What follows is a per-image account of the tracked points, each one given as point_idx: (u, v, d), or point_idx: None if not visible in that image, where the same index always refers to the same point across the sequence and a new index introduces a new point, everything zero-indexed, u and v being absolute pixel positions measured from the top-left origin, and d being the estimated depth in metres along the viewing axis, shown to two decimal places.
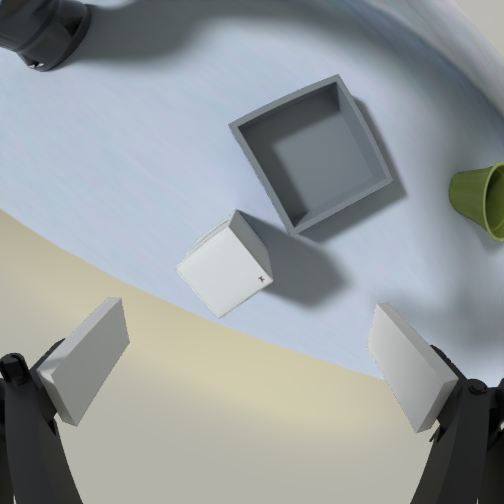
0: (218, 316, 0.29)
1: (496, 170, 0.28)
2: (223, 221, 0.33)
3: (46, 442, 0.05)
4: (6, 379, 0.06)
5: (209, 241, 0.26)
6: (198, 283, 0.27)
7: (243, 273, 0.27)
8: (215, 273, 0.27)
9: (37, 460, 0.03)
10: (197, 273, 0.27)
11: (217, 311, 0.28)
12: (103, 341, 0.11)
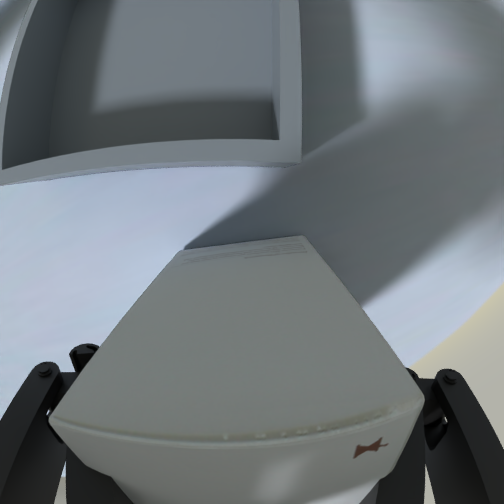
0: None
1: None
2: None
3: None
4: (77, 369, 0.07)
5: None
6: None
7: (283, 488, 0.04)
8: None
9: None
10: None
11: None
12: None
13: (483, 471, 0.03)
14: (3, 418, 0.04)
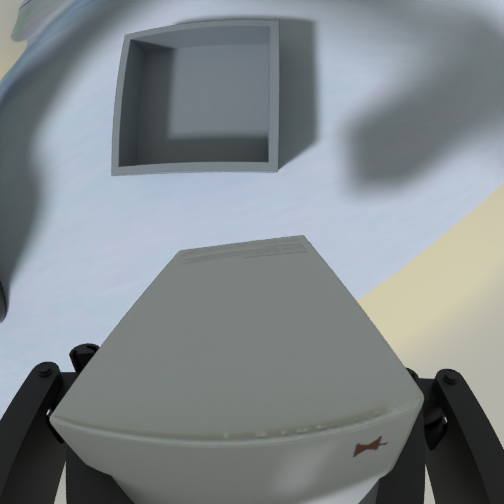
0: None
1: None
2: None
3: None
4: (77, 369, 0.07)
5: None
6: None
7: (283, 487, 0.04)
8: None
9: None
10: None
11: None
12: None
13: (483, 471, 0.03)
14: (3, 418, 0.04)
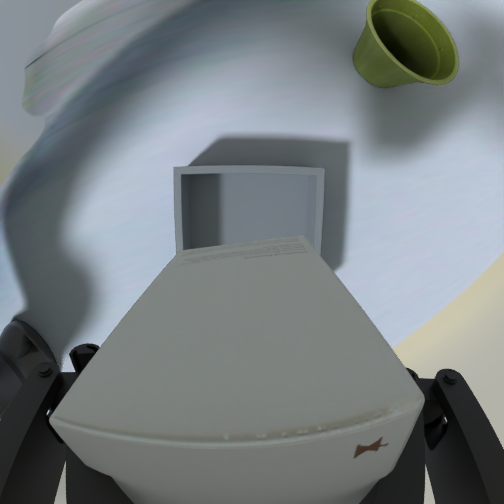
0: None
1: (373, 16, 0.19)
2: None
3: None
4: (77, 369, 0.07)
5: None
6: None
7: (284, 488, 0.04)
8: None
9: None
10: None
11: None
12: None
13: (483, 471, 0.03)
14: (3, 418, 0.04)
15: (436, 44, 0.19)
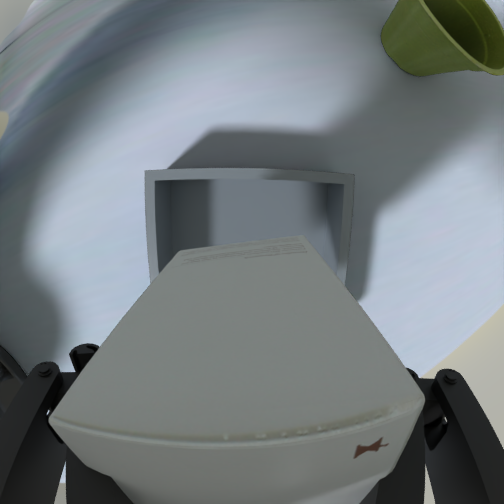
0: None
1: None
2: None
3: None
4: (77, 369, 0.07)
5: None
6: None
7: (283, 488, 0.04)
8: None
9: None
10: None
11: None
12: None
13: (483, 471, 0.03)
14: (3, 418, 0.04)
15: (482, 28, 0.11)
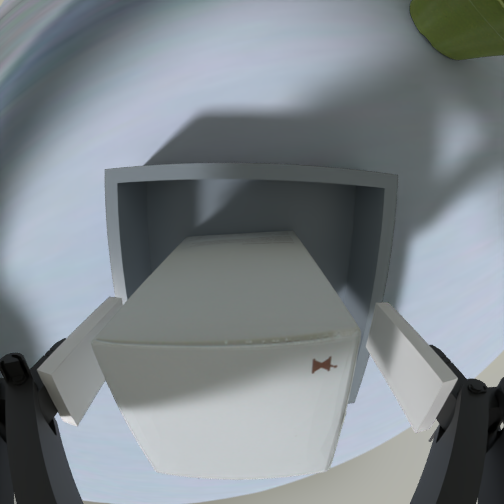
0: (322, 471, 0.08)
1: None
2: None
3: (46, 442, 0.05)
4: (6, 379, 0.06)
5: (116, 401, 0.07)
6: (214, 470, 0.08)
7: (262, 399, 0.07)
8: (211, 443, 0.07)
9: (38, 460, 0.03)
10: (186, 460, 0.08)
11: (309, 470, 0.08)
12: None
13: None
14: None
15: None
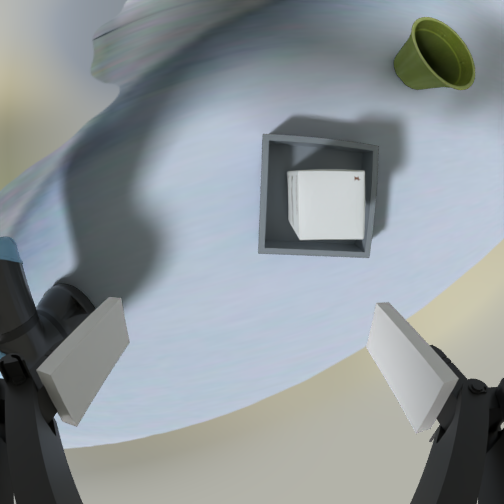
0: (361, 237, 0.28)
1: None
2: (290, 182, 0.34)
3: (46, 442, 0.05)
4: (6, 379, 0.06)
5: (299, 194, 0.27)
6: (324, 230, 0.28)
7: (343, 188, 0.26)
8: (327, 209, 0.27)
9: (37, 460, 0.03)
10: (316, 223, 0.27)
11: (357, 234, 0.28)
12: (103, 341, 0.11)
13: None
14: None
15: (458, 58, 0.24)
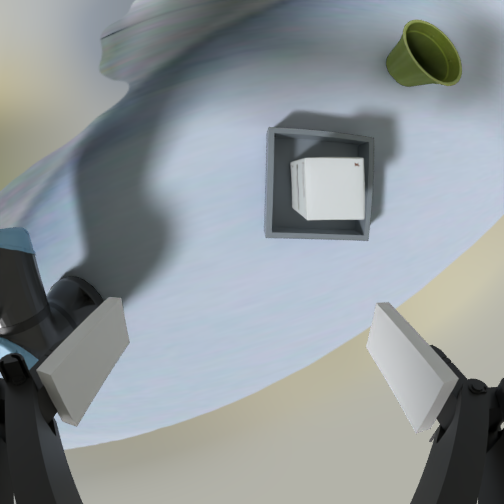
0: (362, 217, 0.30)
1: None
2: (294, 171, 0.36)
3: (46, 442, 0.05)
4: (6, 379, 0.06)
5: (306, 178, 0.29)
6: (329, 210, 0.30)
7: (345, 173, 0.29)
8: (331, 192, 0.30)
9: (38, 460, 0.03)
10: (322, 205, 0.30)
11: (358, 215, 0.30)
12: (103, 341, 0.11)
13: None
14: None
15: (446, 56, 0.27)
